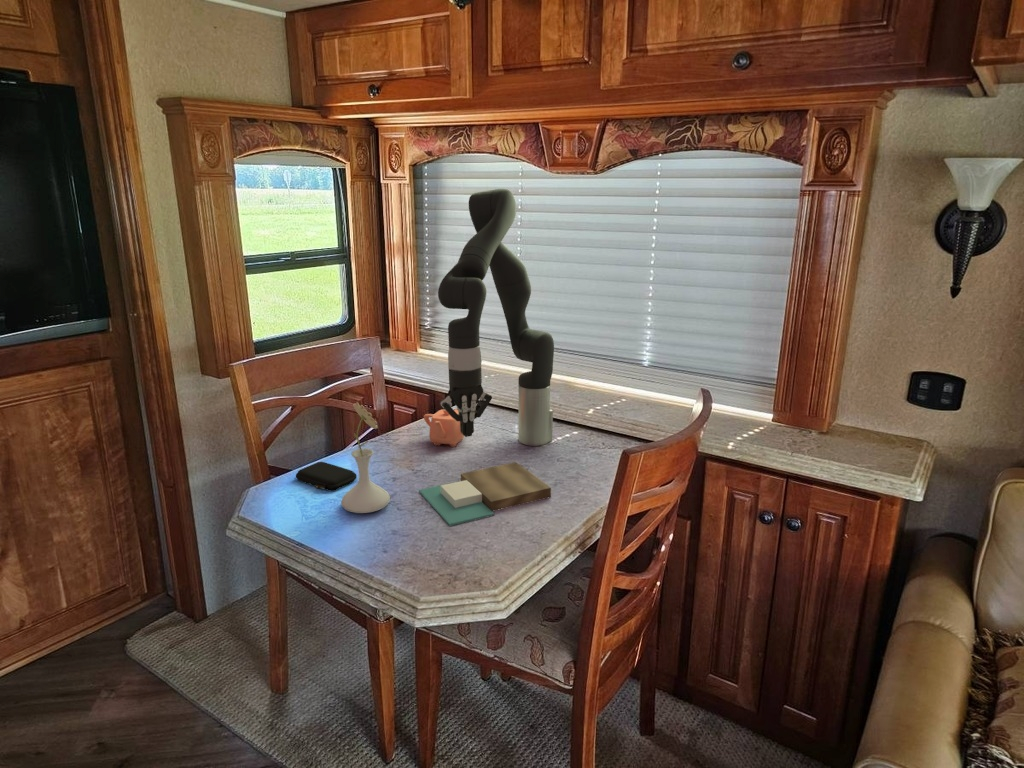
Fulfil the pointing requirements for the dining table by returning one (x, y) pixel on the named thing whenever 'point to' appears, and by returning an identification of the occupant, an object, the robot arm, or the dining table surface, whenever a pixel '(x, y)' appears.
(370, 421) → the flower in vase
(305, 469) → the carrying case or bag
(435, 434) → the teapot
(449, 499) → the tile
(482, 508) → the mat
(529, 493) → the brown wooden board
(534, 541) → the dining table surface
